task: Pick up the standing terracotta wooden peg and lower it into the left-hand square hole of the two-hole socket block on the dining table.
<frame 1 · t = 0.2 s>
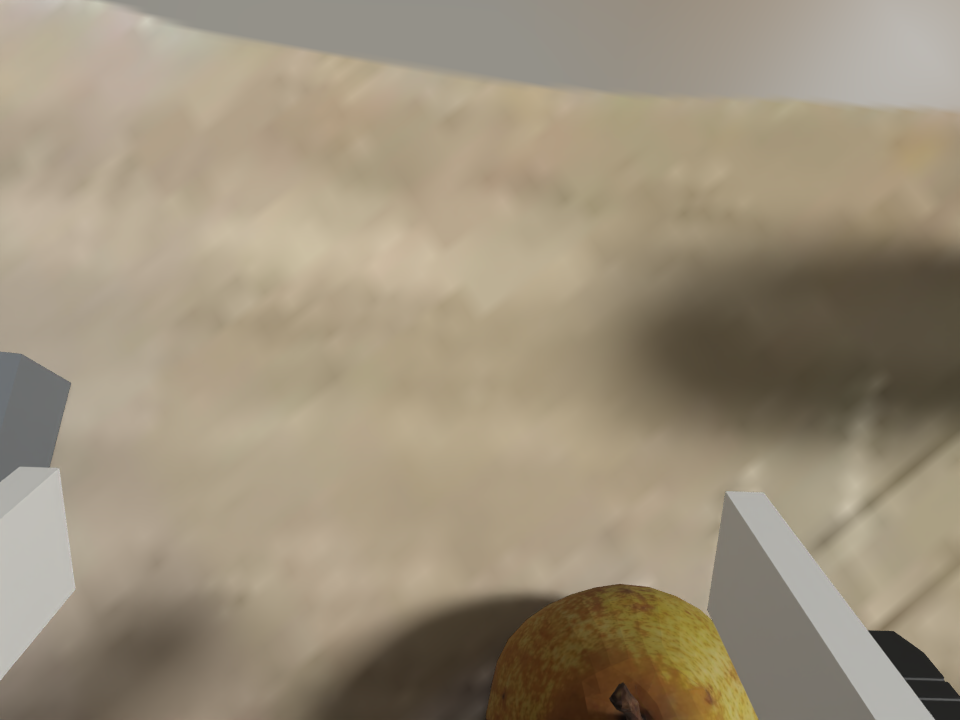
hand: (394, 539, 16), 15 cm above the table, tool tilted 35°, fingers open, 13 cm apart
fruit: (598, 705, 29), on the table
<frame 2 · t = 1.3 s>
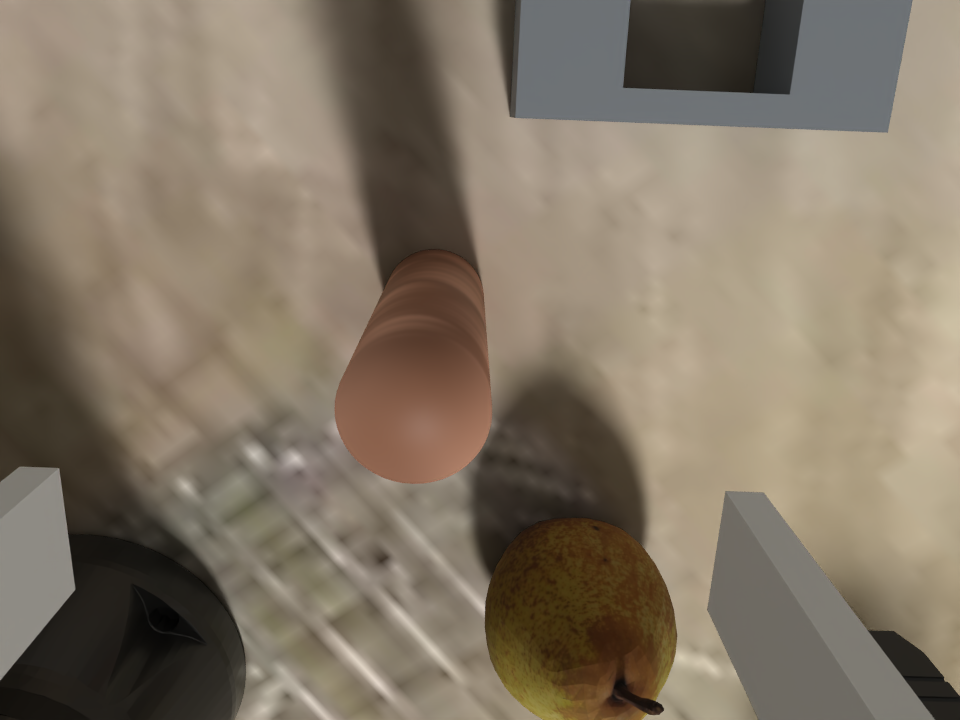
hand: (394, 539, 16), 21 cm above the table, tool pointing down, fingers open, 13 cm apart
fruit: (567, 570, 40), on the table
peg: (434, 297, 35), on the table
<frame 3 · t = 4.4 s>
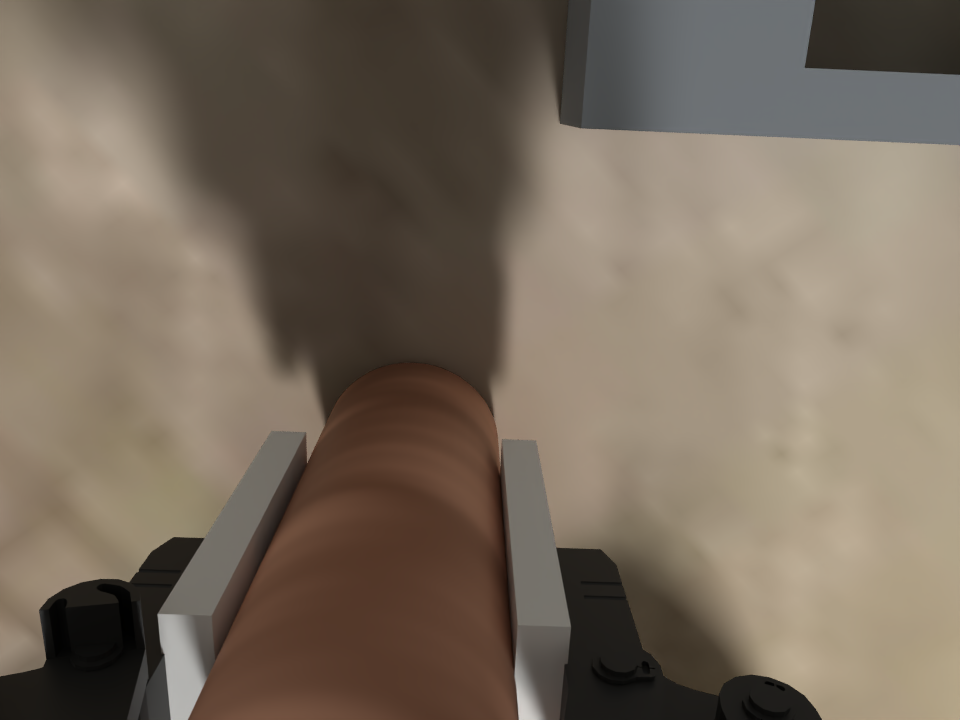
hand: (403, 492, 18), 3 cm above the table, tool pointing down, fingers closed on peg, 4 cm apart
peg: (412, 444, 20), point 1 cm above the table, touching gripper
when the fingers open (6 cm above the table, at t = 10.1 s): peg drops 3 cm, resting in socket block.
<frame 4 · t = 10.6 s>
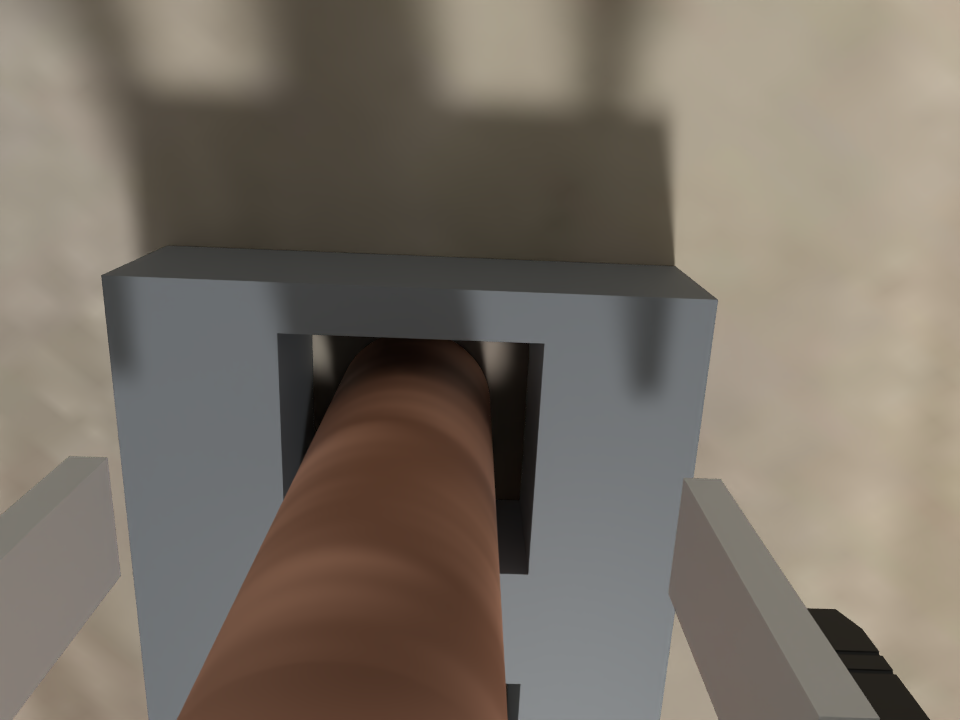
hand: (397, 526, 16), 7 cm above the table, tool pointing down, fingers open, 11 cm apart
peg: (414, 403, 23), resting in socket block
socket block: (417, 546, 24), on the table
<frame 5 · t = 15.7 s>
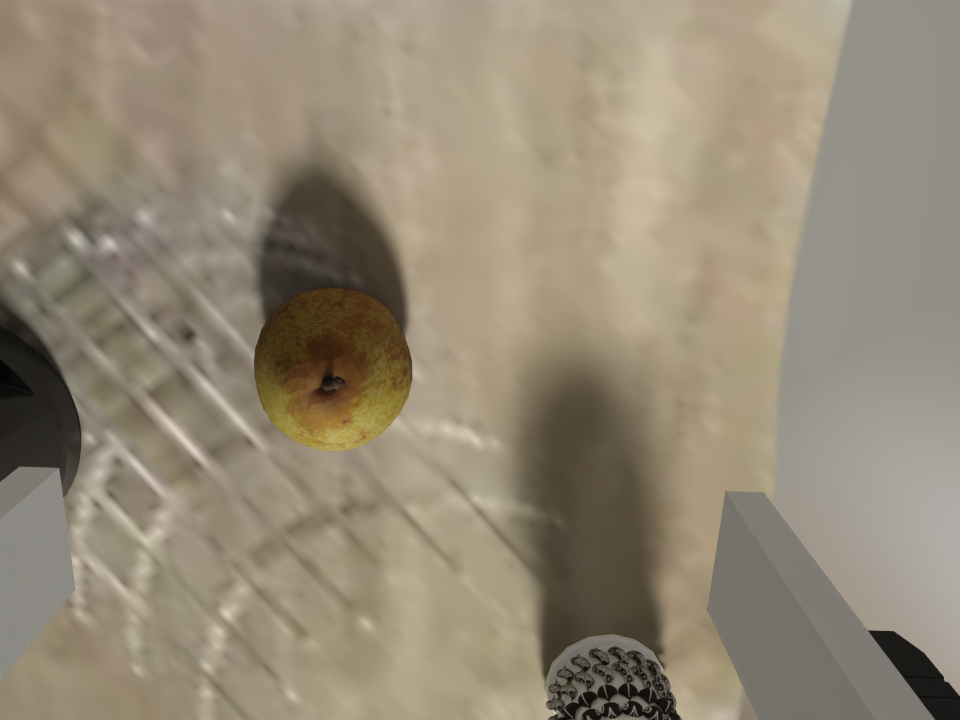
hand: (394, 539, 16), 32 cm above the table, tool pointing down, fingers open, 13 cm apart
fruit: (345, 348, 48), on the table
decorative candle: (604, 682, 55), on the table
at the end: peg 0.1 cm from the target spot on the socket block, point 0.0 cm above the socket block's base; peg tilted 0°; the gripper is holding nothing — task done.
